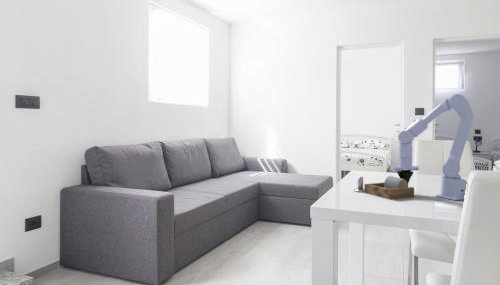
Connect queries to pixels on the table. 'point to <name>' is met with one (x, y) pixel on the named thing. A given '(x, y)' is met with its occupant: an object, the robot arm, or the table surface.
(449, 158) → the robot arm
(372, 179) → the table surface
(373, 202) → the table surface
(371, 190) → the wooden tray
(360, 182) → the stand post
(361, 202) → the table surface
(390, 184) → the ceramic mug
